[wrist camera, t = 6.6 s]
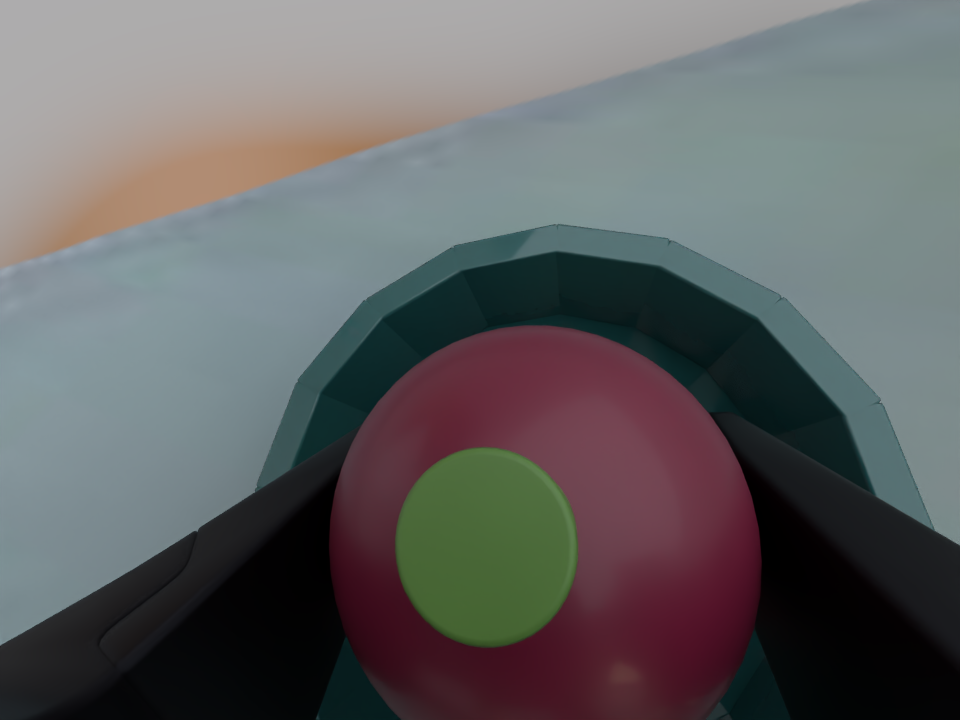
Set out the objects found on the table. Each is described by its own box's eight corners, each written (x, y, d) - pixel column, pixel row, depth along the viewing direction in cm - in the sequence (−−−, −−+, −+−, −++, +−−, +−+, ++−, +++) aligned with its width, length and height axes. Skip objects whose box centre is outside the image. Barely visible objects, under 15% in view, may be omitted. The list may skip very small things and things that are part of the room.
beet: (578, 669, 12) (608, 1752, 2) (423, 525, 14) (-23, 594, 3) (696, 494, 12) (1253, 458, 2) (533, 380, 14) (433, 78, 4)
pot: (620, 923, 11) (655, 1241, 6) (275, 541, 15) (145, 559, 11) (899, 469, 13) (1093, 450, 8) (513, 244, 17) (490, 147, 12)
